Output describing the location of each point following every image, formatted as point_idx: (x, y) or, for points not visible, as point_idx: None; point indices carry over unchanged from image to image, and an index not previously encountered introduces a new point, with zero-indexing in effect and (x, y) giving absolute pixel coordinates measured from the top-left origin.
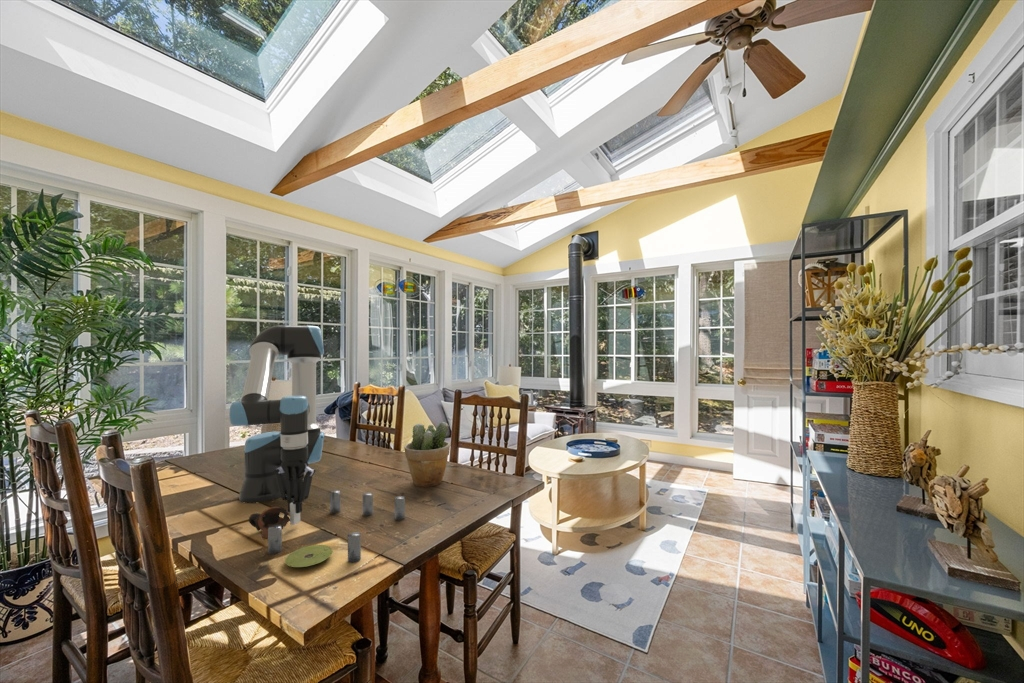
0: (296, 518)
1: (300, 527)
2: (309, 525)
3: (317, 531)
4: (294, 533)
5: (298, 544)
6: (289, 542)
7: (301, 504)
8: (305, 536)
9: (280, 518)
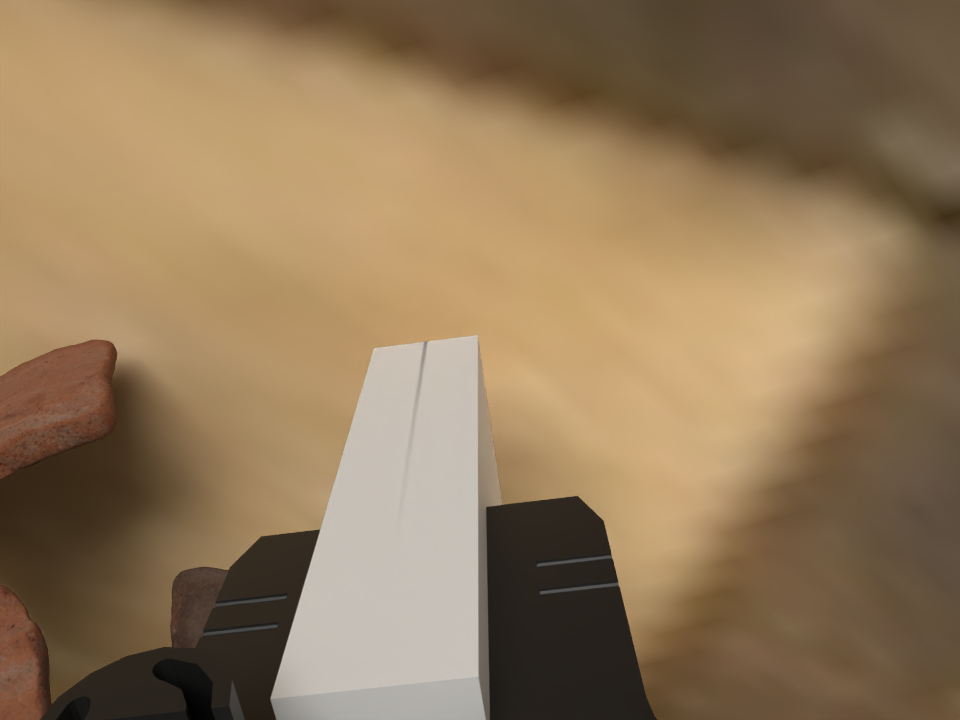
0: (495, 502)
1: (476, 288)
2: (581, 161)
3: (919, 317)
4: (563, 491)
5: (892, 706)
6: (718, 703)
7: (632, 666)
8: (827, 513)
9: (17, 462)
